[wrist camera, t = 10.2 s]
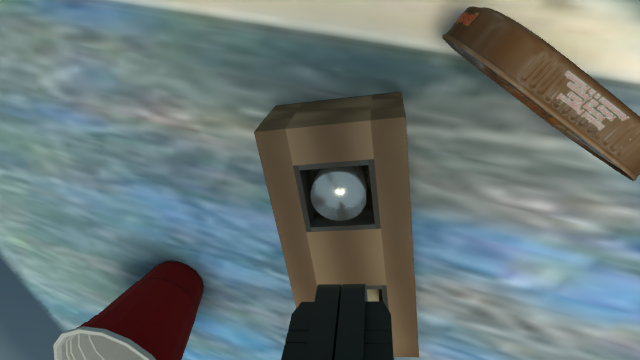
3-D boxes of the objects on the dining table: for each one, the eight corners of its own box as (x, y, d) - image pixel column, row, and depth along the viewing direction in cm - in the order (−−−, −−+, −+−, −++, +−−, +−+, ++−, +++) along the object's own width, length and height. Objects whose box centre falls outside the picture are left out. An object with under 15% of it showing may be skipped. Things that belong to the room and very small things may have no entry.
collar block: (317, 307, 41) (307, 355, 36) (275, 105, 31) (253, 132, 26) (413, 306, 39) (418, 357, 34) (401, 91, 30) (405, 116, 24)
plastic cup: (122, 232, 40) (30, 323, 30) (224, 250, 39) (166, 351, 29) (135, 307, 45) (60, 407, 35) (224, 325, 44) (176, 433, 34)
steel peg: (324, 187, 34) (315, 222, 29) (317, 144, 32) (306, 174, 27) (370, 183, 33) (368, 219, 28) (365, 140, 31) (363, 170, 26)
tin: (432, 33, 27) (451, 54, 20) (464, -8, 26) (497, -2, 19) (585, 151, 30) (652, 208, 22) (622, 119, 28) (707, 169, 21)
